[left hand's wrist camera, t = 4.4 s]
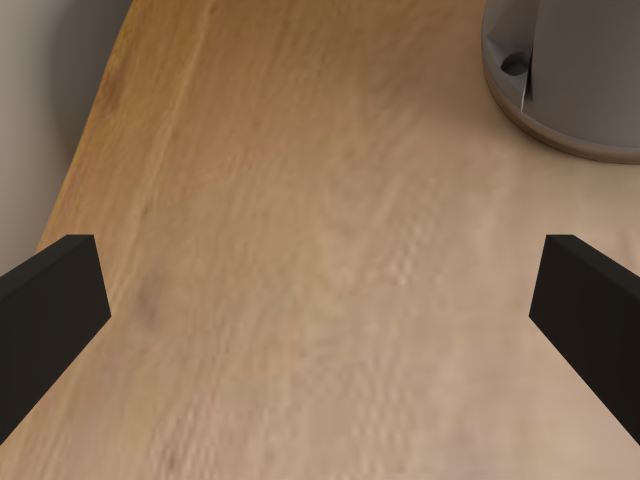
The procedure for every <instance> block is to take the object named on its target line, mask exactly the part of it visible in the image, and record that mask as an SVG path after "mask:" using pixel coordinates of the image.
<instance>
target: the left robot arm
mask: <svg viewBox="0 0 640 480" xmlns="http://www.w3.org/2000/svg"><path fill="white" fill-rule="evenodd" d="M481 39H482V58H483V67H484V73H485V76H486V80H487V83H488V86H489V88H490V91H491V93H492V95H493V96H494V98H495V100H496V102H497V103H498V104H499V106H500V107H501V109H502V110H503V111H504V112H505V114H506V115H507V116H508V117H509V118H510V119H511V120H512V121H513V122H514V123H515V124H517V125H518V126H519V127H520V128H521V129H523V130H524V131H525V132H527V133H528V134H530V135H531V136H533V137H534V138H536V139H538V140H540V141H542V142H543V143H545V144H547V145H549V146H552V147H554V148H556V149H559V150H561V151H564V152H567V153H570V154H573V155H576V156H580V157H584V158H588V159H592V160H598V161H604V162H611V163H622V164H640V0H487V4H486V8H485V13H484V17H483V22H482V31H481ZM110 317H111V312H110V308H109V303H108V299H107V294H106V290H105V285H104V280H103V276H102V271H101V267H100V262H99V258H98V253H97V248H96V244H95V239H94V235H66V236H64V237H63V238H61V239H59V240H58V241H56V242H55V243H53V244H52V245H50V246H48V247H47V248H45V249H44V250H42V251H41V252H39V253H37V254H36V255H34V256H33V257H31V258H30V259H28V260H27V261H25V262H23V263H22V264H20V265H19V266H17V267H16V268H14V269H12V270H11V271H9V272H8V273H6V274H5V275H3V276H1V277H0V445H1V444H2V443H3V442H4V441H5V440H6V438H7V437H8V436H9V435H10V434H11V433H12V431H13V430H14V429H15V428H16V427H17V426H18V425H19V423H20V422H21V421H22V420H23V419H24V418H25V416H26V415H27V414H28V413H29V412H30V411H31V409H32V408H33V407H34V406H35V405H36V404H37V402H38V401H39V400H40V399H41V398H42V397H43V395H44V394H45V393H46V392H47V391H48V390H49V388H50V387H51V386H52V385H53V384H54V383H55V381H56V380H57V379H58V378H59V377H60V376H61V374H62V373H63V372H64V371H65V370H66V369H67V367H68V366H69V365H70V364H71V363H72V362H73V360H74V359H75V358H76V357H77V356H78V355H79V354H80V352H81V351H82V350H83V349H84V348H85V347H86V345H87V344H88V343H89V342H90V341H91V340H92V338H93V337H94V336H95V335H96V334H97V333H98V331H99V330H100V329H101V328H102V327H103V326H104V324H105V323H106V322H107V321H108V320H109V319H110ZM529 317H530V319H531V320H532V321H533V322H534V323H535V324H536V326H537V327H538V328H539V329H540V330H541V331H542V333H543V334H544V335H545V336H546V337H547V338H548V340H549V341H550V342H551V343H552V344H553V345H554V347H555V348H556V349H557V350H558V351H559V352H560V354H561V355H562V356H563V357H564V358H565V359H566V361H567V362H568V363H569V364H570V365H571V366H572V367H573V369H574V370H575V371H576V372H577V373H578V374H579V376H580V377H581V378H582V379H583V380H584V381H585V383H586V384H587V385H588V386H589V387H590V388H591V390H592V391H593V392H594V393H595V394H596V395H597V397H598V398H599V399H600V400H601V401H602V402H603V404H604V405H605V406H606V407H607V408H608V409H609V411H610V412H611V413H612V414H613V415H614V416H615V418H616V419H617V420H618V421H619V422H620V423H621V425H622V426H623V427H624V428H625V429H626V430H627V431H628V433H629V434H630V435H631V436H632V437H633V438H634V440H635V441H636V442H637V443H638V444H639V445H640V277H639V276H637V275H635V274H634V273H632V272H631V271H629V270H628V269H626V268H624V267H623V266H621V265H620V264H618V263H617V262H615V261H614V260H612V259H610V258H609V257H607V256H606V255H604V254H603V253H601V252H599V251H598V250H596V249H595V248H593V247H592V246H590V245H588V244H587V243H585V242H584V241H582V240H581V239H579V238H577V237H576V236H574V235H546V239H545V244H544V248H543V253H542V258H541V262H540V267H539V271H538V276H537V280H536V285H535V290H534V294H533V299H532V303H531V308H530V312H529Z"/></svg>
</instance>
